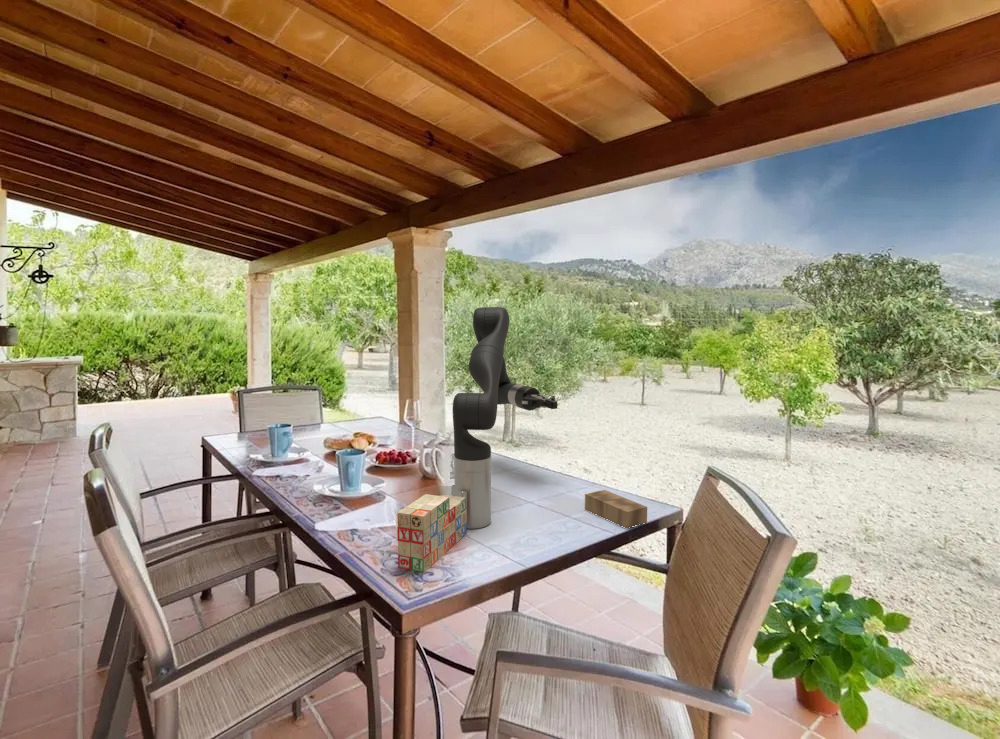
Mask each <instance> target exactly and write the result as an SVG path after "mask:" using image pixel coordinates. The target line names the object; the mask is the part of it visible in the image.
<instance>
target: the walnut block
mask: <svg viewBox="0 0 1000 739" xmlns="http://www.w3.org/2000/svg"><path fill="white" fill-rule="evenodd" d="M584 509H585V510H584V511H586V510H588V511H590V512H589V513H591V512H592V513H591V514H593V513H594V514H593V515H595V514H597V515H599V516H601V517H603V518H605V519H604V520H606V519H608V520H610V521H612V522H614V523H616V524H619V525H620V526H619V527H621V526H623V527H625V528H629V527H632V526H635V525H639V524H643V523H647V524H648V506H647V505H644V504H642V503H638V502H636V501H634V500H631V499H629V498H626V497H624V496H621V495H618V494H617V493H613V492H611V491H609V490H606V489H601V490H596V491H592V492H586V493H584ZM588 511H587V512H588ZM597 515H596V516H597ZM599 516H598V517H599ZM601 517H600V518H601ZM603 518H602V519H603ZM608 520H607V521H608ZM610 521H609V522H610ZM612 522H611V523H612ZM614 523H613V524H614ZM616 524H615V525H616ZM623 527H622V528H623ZM625 528H624V529H625Z"/></svg>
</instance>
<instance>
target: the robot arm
mask: <svg viewBox="0 0 1000 739" xmlns="http://www.w3.org/2000/svg"><path fill="white" fill-rule="evenodd" d="M472 325H473V331H474V336H475V338H476V341H477V343H476V344H475V346H474V347H473V348H472V350H471V353H470V356H469V357H470V358H469V361H468V370H469V375H470V376H471V378H472V379H473V380H474V382H475V383H476V385H478V386H479V387H480V389H481V391H483V392H458V393H456V394H455V396H454V398H453V401H452V423H453V425H452V426H453V448H454V453H453V455H454V456H453V457H454V459H453V460H454V468H453V469H454V473H453V474H454V484H452V485H451V490H450V491H451V495H450V496H459V497H466V511H467V521H466V522H467V529H471V530H472V529H481V528H482V529H483V528H485V527H488V526H489V525H490V524H491V523H492V449H491V448H492V446H490V444H489V443H488V442H486V441H484V440H481V439H479V438H477V437H475V436H473V435H472V433H471V434H470V432H469V431H488V430H491V429H493V428H494V426H495V425H496V421H497V417H498V416H497V415H498V414H497V413H498V406H499V405H507V404H508V405H511V406H513V407H516V408H519V409H523V410H524V411H525V410H526V411H531V412H532V411H533V410H537V409H541V408H544V409H545V408H547V409H550V410H556V409H558V401H557V400H556V396H555V395H551V396H549V397H548V396H546V395H544V394H542V393H540V392H539V390H538V389H537V388H536V387H532V386H528V385H524V384H516V383H512V381H511V379H510V377H509V375H508V372H507V366H506V365H507V363H506V360H505V357H504V351H505V350H504V349H505V345H506V344H505V343H506V340H507V335H508V333H509V326H510V314H509V312H508V310H507V309H506V308H505V307H503V306H489V307H488V306H487V307H485V306H484V307H477V308H476V309H475V310H474V312H473V314H472ZM468 430H469V431H468Z"/></svg>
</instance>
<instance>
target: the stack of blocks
mask: <svg viewBox="0 0 1000 739" xmlns="http://www.w3.org/2000/svg"><path fill="white" fill-rule="evenodd" d="M396 516H397V517H396V518H397V530H396V532H397V534H396V535H397V553H398V554H397V560H398V561H397V568H399V569H403V570H408V571H414V572H419V573H423V574H424V573H426V572H427V571H428V570H429V569H430V568H431V567H433V566H434V564H436V563H437V562H438V561H439V560H440V559H441V558H443V556H445V555H446V554H447V552H448V551H450V550H451V549H452V548H453V547H454V546H455V545H456V544H457V543H458V542H459V541H460V540H462V539H463V538H464V537H465V536H466V535H467V534H468V533H467V529H468V528H467V522H466V521H467V511H466V497H459V496H451V495H450V494H442V495H434V494H427V493H425V494H424V495H422V496H420V497H419V498H417V499H416V500H414V501H413V502H412V503H409V505H407V506H405V507H403V508H402V509H401V510H399V511H398V512H397V515H396Z"/></svg>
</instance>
